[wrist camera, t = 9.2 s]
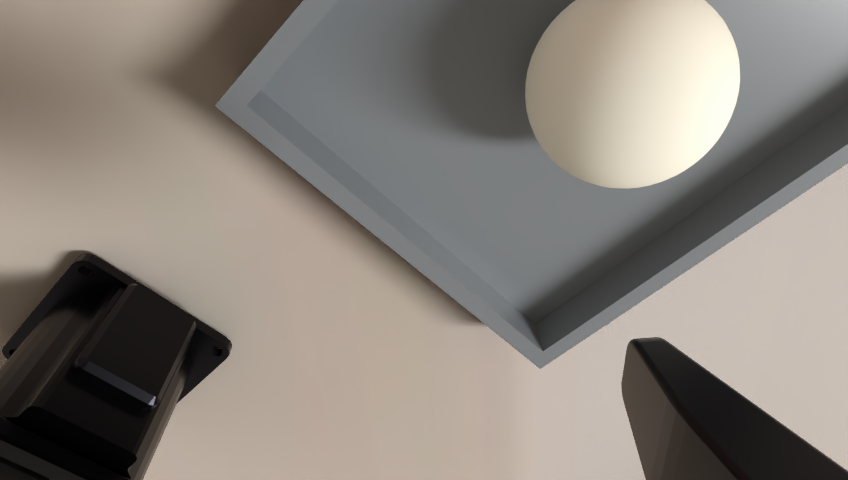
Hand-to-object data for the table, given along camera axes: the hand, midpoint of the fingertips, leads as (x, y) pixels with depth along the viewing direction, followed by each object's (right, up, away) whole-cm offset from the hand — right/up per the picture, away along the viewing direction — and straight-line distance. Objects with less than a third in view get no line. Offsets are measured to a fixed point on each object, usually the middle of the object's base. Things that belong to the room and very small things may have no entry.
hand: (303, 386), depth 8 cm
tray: (+7, +8, +9) cm, 14 cm away
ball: (+7, +6, +6) cm, 11 cm away
